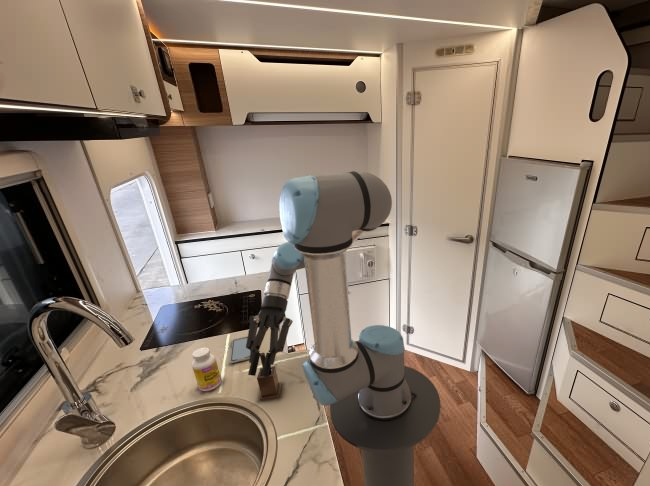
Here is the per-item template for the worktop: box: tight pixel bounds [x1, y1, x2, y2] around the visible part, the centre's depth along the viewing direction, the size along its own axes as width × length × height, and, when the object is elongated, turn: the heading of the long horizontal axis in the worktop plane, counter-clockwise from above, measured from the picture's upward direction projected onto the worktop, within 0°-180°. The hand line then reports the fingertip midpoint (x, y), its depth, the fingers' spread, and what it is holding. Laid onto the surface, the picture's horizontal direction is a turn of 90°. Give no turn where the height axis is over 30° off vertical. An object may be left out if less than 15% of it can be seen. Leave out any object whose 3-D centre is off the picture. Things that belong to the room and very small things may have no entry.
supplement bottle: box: [191, 347, 222, 392], centre depth 100 cm, size 7×7×13 cm
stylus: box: [259, 352, 266, 368], centre depth 95 cm, size 1×1×14 cm
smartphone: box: [229, 336, 251, 364], centre depth 119 cm, size 7×1×15 cm
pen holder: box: [256, 365, 282, 402], centre depth 96 cm, size 6×6×8 cm
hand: (258, 375), depth 91 cm, fingers open, 3 cm apart
